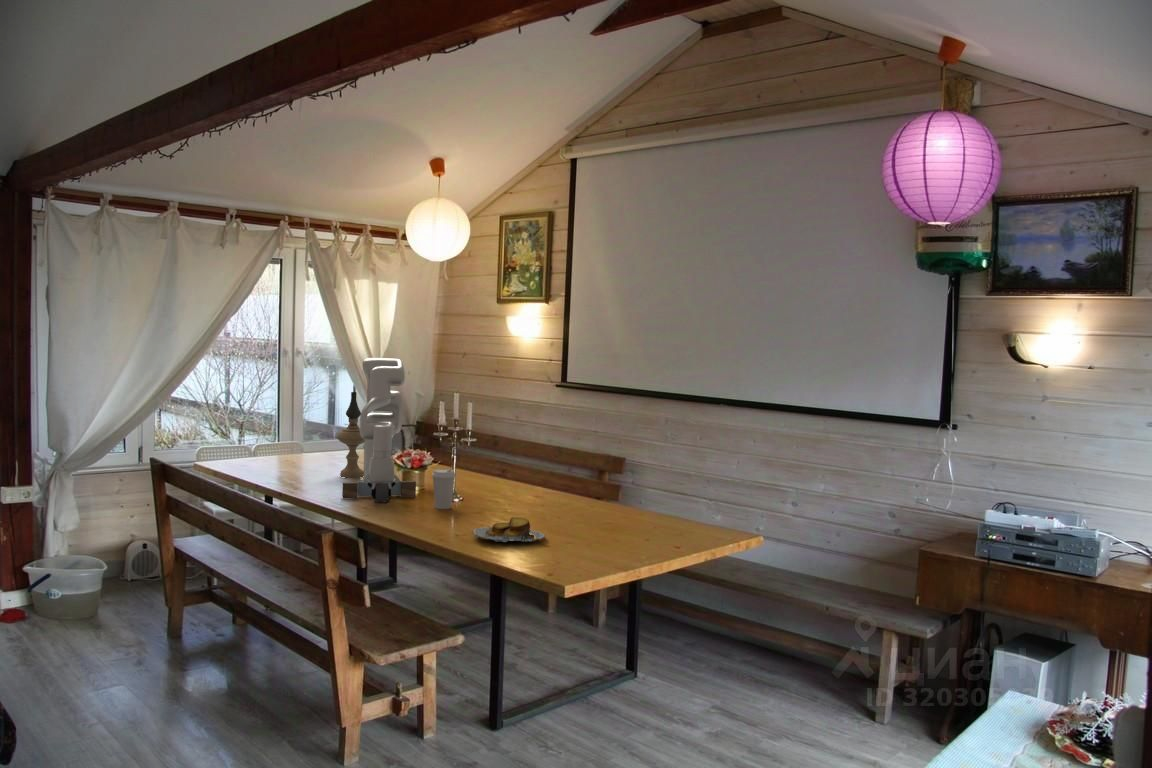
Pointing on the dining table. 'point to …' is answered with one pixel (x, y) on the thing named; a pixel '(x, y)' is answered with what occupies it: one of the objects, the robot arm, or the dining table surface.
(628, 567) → the dining table surface
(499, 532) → the food on plate
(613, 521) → the dining table surface
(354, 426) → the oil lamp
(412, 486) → the pair of brown blocks
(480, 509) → the dining table surface
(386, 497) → the dark grey block
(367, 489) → the grey curved plank
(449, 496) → the coffee cup
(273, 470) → the dining table surface
